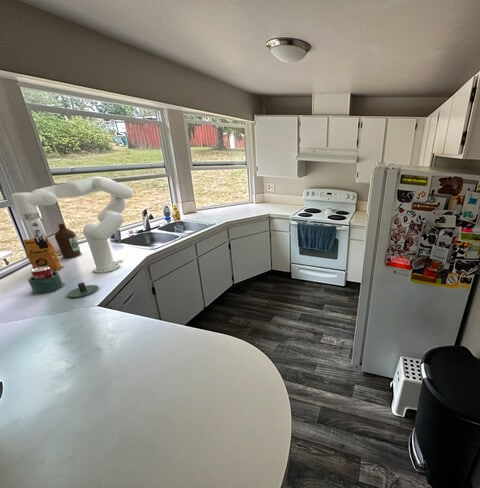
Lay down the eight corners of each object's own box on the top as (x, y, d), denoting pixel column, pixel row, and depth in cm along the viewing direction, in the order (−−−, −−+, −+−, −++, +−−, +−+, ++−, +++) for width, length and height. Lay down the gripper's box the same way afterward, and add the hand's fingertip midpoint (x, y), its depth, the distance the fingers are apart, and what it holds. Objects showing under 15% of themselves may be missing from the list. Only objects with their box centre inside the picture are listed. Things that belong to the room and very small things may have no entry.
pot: (59, 280, 151) (54, 268, 149) (66, 289, 142) (61, 276, 139) (31, 288, 142) (25, 275, 140) (36, 298, 133) (30, 284, 130)
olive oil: (58, 259, 179) (45, 225, 170) (69, 253, 189) (57, 221, 180) (76, 258, 181) (64, 225, 173) (85, 252, 191) (75, 221, 182)
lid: (94, 284, 148) (92, 275, 146) (101, 291, 141) (99, 282, 139) (65, 293, 138) (62, 284, 136) (71, 301, 132) (68, 291, 130)
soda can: (45, 291, 138) (37, 272, 134) (35, 290, 139) (26, 271, 135) (60, 285, 145) (53, 266, 141) (51, 284, 146) (43, 265, 142)
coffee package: (57, 271, 161) (45, 239, 154) (31, 274, 157) (17, 242, 149) (65, 265, 170) (53, 235, 162) (40, 268, 165) (27, 237, 158)
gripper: (44, 217, 130) (55, 248, 136) (37, 212, 140) (48, 241, 146) (22, 220, 125) (35, 252, 130) (17, 214, 134) (29, 244, 140)
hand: (42, 246), depth 138 cm, fingers open, 9 cm apart
